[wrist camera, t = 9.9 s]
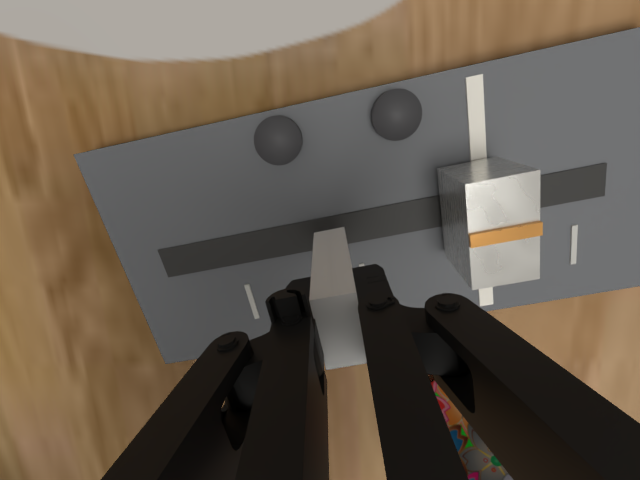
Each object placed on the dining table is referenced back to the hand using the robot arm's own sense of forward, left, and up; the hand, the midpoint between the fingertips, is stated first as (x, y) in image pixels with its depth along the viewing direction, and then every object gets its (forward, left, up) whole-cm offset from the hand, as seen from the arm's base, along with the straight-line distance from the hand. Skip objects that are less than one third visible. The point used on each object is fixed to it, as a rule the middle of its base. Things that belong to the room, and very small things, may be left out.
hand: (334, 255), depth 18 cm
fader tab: (+7, 0, -2) cm, 8 cm away
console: (+2, 0, -5) cm, 6 cm away
